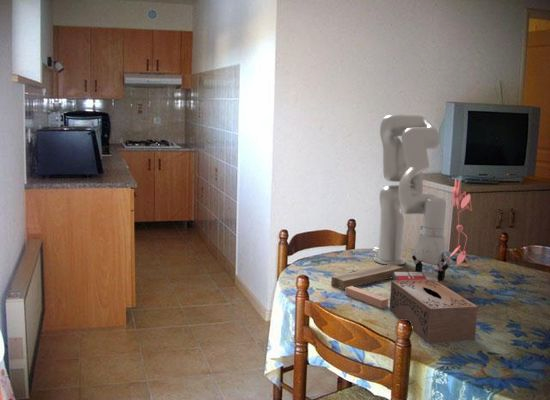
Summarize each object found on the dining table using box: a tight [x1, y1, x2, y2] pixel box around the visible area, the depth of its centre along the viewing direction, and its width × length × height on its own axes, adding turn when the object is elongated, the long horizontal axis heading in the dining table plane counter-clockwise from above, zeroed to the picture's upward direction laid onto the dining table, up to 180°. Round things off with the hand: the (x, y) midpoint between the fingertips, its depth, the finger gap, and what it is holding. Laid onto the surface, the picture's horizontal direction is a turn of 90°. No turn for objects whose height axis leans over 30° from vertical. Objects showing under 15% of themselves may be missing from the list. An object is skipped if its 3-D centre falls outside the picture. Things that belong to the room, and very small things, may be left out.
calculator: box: [392, 271, 441, 283], centre depth 217 cm, size 11×4×15 cm
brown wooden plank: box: [330, 264, 404, 290], centre depth 222 cm, size 6×32×3 cm, turn 129°
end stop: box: [344, 286, 389, 309], centre depth 199 cm, size 16×3×2 cm, turn 39°
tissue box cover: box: [388, 279, 479, 344], centre depth 179 cm, size 26×14×10 cm, turn 13°
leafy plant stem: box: [448, 178, 473, 267], centre depth 249 cm, size 15×26×35 cm, turn 175°
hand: (429, 277), depth 220 cm, fingers open, 9 cm apart
